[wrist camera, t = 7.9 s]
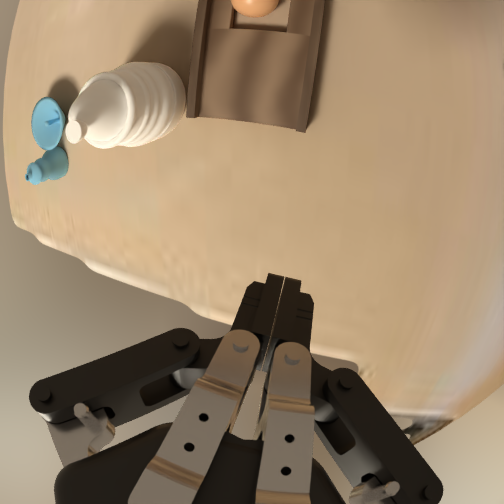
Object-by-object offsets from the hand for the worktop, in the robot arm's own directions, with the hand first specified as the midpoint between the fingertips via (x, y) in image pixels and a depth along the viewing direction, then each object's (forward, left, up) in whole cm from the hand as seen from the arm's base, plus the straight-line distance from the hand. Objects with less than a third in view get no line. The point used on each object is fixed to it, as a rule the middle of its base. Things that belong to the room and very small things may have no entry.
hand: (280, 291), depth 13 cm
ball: (+9, -21, -27) cm, 35 cm away
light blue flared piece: (+47, +1, -30) cm, 55 cm away
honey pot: (+25, -5, -30) cm, 39 cm away
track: (+9, -17, -30) cm, 35 cm away
